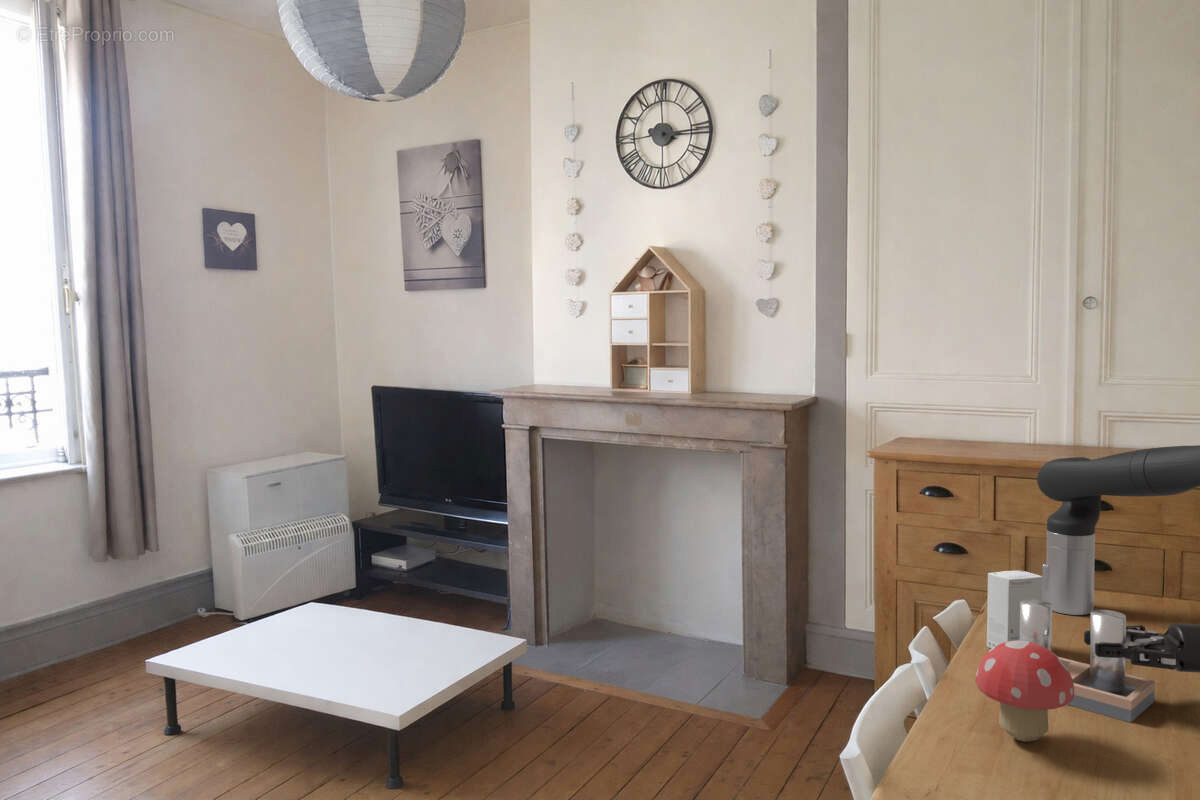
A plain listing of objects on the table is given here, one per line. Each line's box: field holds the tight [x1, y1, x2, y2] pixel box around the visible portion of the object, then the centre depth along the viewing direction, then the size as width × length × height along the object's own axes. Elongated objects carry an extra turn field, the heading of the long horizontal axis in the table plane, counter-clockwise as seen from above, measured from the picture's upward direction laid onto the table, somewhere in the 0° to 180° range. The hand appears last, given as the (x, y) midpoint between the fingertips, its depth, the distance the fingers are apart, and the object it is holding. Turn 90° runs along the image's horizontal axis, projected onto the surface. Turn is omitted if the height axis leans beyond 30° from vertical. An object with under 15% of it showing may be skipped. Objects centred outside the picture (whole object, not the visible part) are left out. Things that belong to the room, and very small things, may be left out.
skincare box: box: [986, 569, 1043, 650], centre depth 167 cm, size 8×6×15 cm
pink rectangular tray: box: [1057, 656, 1156, 724], centre depth 148 cm, size 22×11×4 cm, turn 41°
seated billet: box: [1020, 599, 1053, 652], centre depth 152 cm, size 5×5×12 cm
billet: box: [1089, 609, 1127, 692], centre depth 143 cm, size 5×5×12 cm
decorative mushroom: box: [975, 640, 1074, 743], centre depth 131 cm, size 13×13×15 cm
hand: (1090, 643), depth 144 cm, fingers closed on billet, 5 cm apart
